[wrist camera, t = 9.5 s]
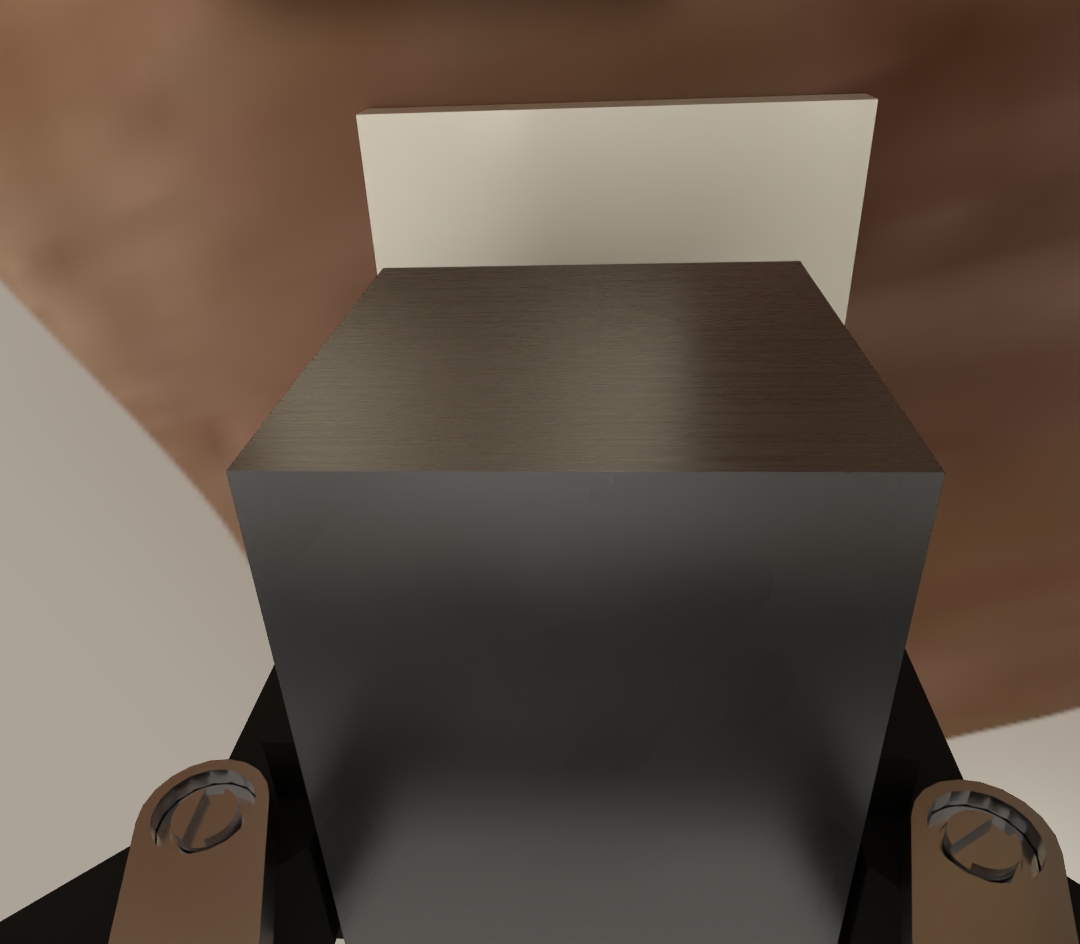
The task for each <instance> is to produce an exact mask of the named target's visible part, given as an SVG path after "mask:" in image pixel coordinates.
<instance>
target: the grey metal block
mask: <svg viewBox="0 0 1080 944" xmlns="http://www.w3.org/2000/svg"><path fill="white" fill-rule="evenodd" d="M226 473H227V477H228V481H229V485H230V489H231V493H232V497H233V501H234V505H235V509H236V513H237V517H238V521H239V525H240V529H241V533H242V537H243V541H244V545H245V549H246V552H247V556H248V560H249V564H250V568H251V572H252V576H253V580H254V584H255V588H256V592H257V596H258V600H259V604H260V608H261V612H262V616H263V620H264V624H265V627H266V631H267V636H268V640H269V644H270V647H271V651H272V655H273V659H274V663H275V667H276V671H277V675H278V679H279V683H280V687H281V691H282V695H283V699H284V703H285V707H286V711H287V715H288V719H289V723H290V727H291V731H292V735H293V739H294V743H295V747H296V751H297V755H298V759H299V763H300V767H301V771H302V775H303V778H304V782H305V786H306V790H307V794H308V798H309V802H310V806H311V810H312V814H313V818H314V822H315V826H316V830H317V834H318V838H319V842H320V846H321V850H322V854H323V858H324V862H325V866H326V870H327V874H328V878H329V882H330V886H331V890H332V893H333V897H334V901H335V905H336V909H337V913H338V917H339V921H340V925H341V929H342V933H343V937H344V941H345V944H837V943H838V939H839V934H840V930H841V926H842V921H843V917H844V912H845V908H846V904H847V899H848V895H849V891H850V886H851V882H852V877H853V873H854V869H855V864H856V860H857V855H858V851H859V847H860V842H861V838H862V834H863V829H864V825H865V820H866V816H867V812H868V807H869V803H870V799H871V794H872V790H873V785H874V781H875V777H876V772H877V768H878V764H879V759H880V755H881V750H882V746H883V742H884V737H885V733H886V728H887V724H888V720H889V715H890V711H891V707H892V702H893V698H894V693H895V689H896V685H897V680H898V676H899V672H900V667H901V663H902V658H903V654H904V650H905V645H906V641H907V636H908V632H909V628H910V623H911V619H912V615H913V610H914V606H915V601H916V597H917V593H918V588H919V584H920V580H921V575H922V571H923V566H924V562H925V558H926V553H927V549H928V545H929V540H930V536H931V531H932V527H933V523H934V518H935V514H936V509H937V505H938V501H939V496H940V492H941V488H942V483H943V479H944V474H945V472H944V470H943V469H942V467H941V466H940V464H939V463H938V461H937V460H936V459H935V457H934V456H933V454H932V453H931V451H930V450H929V448H928V447H927V445H926V444H925V442H924V441H923V440H922V438H921V437H920V435H919V434H918V432H917V431H916V429H915V428H914V426H913V425H912V423H911V422H910V421H909V419H908V418H907V416H906V415H905V413H904V412H903V410H902V409H901V407H900V406H899V404H898V403H897V402H896V400H895V399H894V397H893V396H892V394H891V393H890V391H889V390H888V388H887V387H886V386H885V384H884V383H883V381H882V380H881V378H880V377H879V375H878V374H877V372H876V371H875V369H874V368H873V367H872V365H871V364H870V362H869V361H868V359H867V358H866V356H865V355H864V353H863V352H862V350H861V349H860V348H859V346H858V345H857V343H856V342H855V340H854V339H853V337H852V336H851V334H850V333H849V331H848V330H847V329H846V327H845V326H844V324H843V323H842V321H841V320H840V318H839V317H838V315H837V314H836V313H835V311H834V310H833V308H832V307H831V305H830V304H829V302H828V301H827V299H826V298H825V296H824V295H823V294H822V292H821V291H820V289H819V288H818V286H817V285H816V283H815V282H814V280H813V279H812V277H811V276H810V275H809V273H808V272H807V270H806V269H805V267H804V266H803V264H802V263H801V261H766V262H707V263H647V264H588V265H529V266H470V267H411V268H383V269H382V270H381V271H380V273H379V274H378V275H377V276H376V278H375V279H374V280H373V282H372V283H371V284H370V286H369V287H368V288H367V289H366V291H365V292H364V293H363V295H362V296H361V297H360V298H359V300H358V301H357V302H356V304H355V305H354V306H353V308H352V309H351V310H350V311H349V313H348V314H347V315H346V317H345V318H344V319H343V320H342V322H341V323H340V324H339V326H338V327H337V328H336V330H335V331H334V332H333V333H332V335H331V336H330V337H329V339H328V340H327V341H326V342H325V344H324V345H323V346H322V348H321V349H320V350H319V352H318V353H317V354H316V355H315V357H314V358H313V359H312V361H311V362H310V363H309V364H308V366H307V367H306V368H305V370H304V371H303V372H302V374H301V375H300V376H299V377H298V379H297V380H296V381H295V383H294V384H293V385H292V386H291V388H290V389H289V390H288V392H287V393H286V394H285V396H284V397H283V398H282V399H281V401H280V402H279V403H278V405H277V406H276V407H275V408H274V410H273V411H272V412H271V414H270V415H269V416H268V417H267V419H266V420H265V421H264V423H263V424H262V425H261V427H260V428H259V429H258V430H257V432H256V433H255V434H254V436H253V437H252V438H251V439H250V441H249V442H248V443H247V445H246V446H245V447H244V449H243V450H242V451H241V452H240V454H239V455H238V456H237V458H236V459H235V460H234V461H233V463H232V464H231V465H230V467H229V468H228V469H227V471H226Z"/></svg>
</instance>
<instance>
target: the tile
mask: <svg viewBox="0 0 1080 944" xmlns="http://www.w3.org/2000/svg"><path fill="white" fill-rule="evenodd" d="M877 104H878V99H877V98H875V97H873V96H870V95H868V94H866V93H862V94H829V95H796V96H764V97H731V98H698V99H665V100H632V101H599V102H566V103H533V104H500V105H467V106H434V107H401V108H368V109H366V110H364V111H362V112H360V113H358V114H356V118H357V126H358V133H359V141H360V148H361V156H362V163H363V171H364V178H365V185H366V193H367V200H368V208H369V215H370V223H371V230H372V238H373V245H374V252H375V260H376V267H377V275H378V274H379V273H380V271H381V270H382V269H383V268H411V267H470V266H529V265H588V264H647V263H707V262H766V261H801V263H802V264H803V266H804V267H805V269H806V270H807V272H808V273H809V275H810V276H811V277H812V279H813V280H814V282H815V283H816V285H817V286H818V288H819V289H820V291H821V292H822V294H823V295H824V296H825V298H826V299H827V301H828V302H829V304H830V305H831V307H832V308H833V310H834V311H835V313H836V314H837V315H838V317H839V318H840V320H841V321H842V323H843V324H844V326H845V320H846V314H847V307H848V300H849V293H850V287H851V280H852V273H853V266H854V259H855V253H856V246H857V239H858V232H859V226H860V219H861V212H862V205H863V199H864V192H865V185H866V178H867V172H868V165H869V158H870V151H871V144H872V138H873V131H874V124H875V117H876V111H877Z"/></svg>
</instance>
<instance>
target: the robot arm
mask: <svg viewBox="0 0 1080 944" xmlns="http://www.w3.org/2000/svg"><path fill="white" fill-rule="evenodd" d="M336 938H340V939H344V937H343V933H342V929H341V925H340V921H339V917H338V913H337V909H336V905H335V901H334V897H333V893H332V890H331V886H330V882H329V878H328V874H327V870H326V866H325V862H324V858H323V854H322V850H321V846H320V842H319V838H318V834H317V830H316V826H315V822H314V818H313V814H312V810H311V806H310V802H309V798H308V794H307V790H306V786H305V782H304V778H303V775H302V771H301V767H300V763H299V759H298V755H297V751H296V747H295V743H294V739H293V735H292V731H291V727H290V723H289V719H288V715H287V711H286V707H285V703H284V699H283V695H282V691H281V687H280V683H279V679H278V675H277V671H276V667H275V665H274V667H273V669H272V671H271V673H270V675H269V677H268V679H267V681H266V683H265V685H264V687H263V689H262V692H261V694H260V696H259V698H258V700H257V702H256V704H255V706H254V708H253V710H252V712H251V715H250V716H249V718H248V721H247V723H246V725H245V727H244V729H243V731H242V733H241V735H240V737H239V739H238V741H237V743H236V745H235V747H234V749H233V752H232V754H231V756H230V758H229V759H226V760H213V761H207V762H204V763H201V764H198V765H194V766H191V767H189V768H187V769H185V770H183V771H181V772H179V773H178V774H176V775H174V776H172V777H171V778H169V779H168V780H167V781H166V782H164V783H163V784H162V785H161V786H160V787H158V788H157V789H156V790H155V791H154V792H153V793H152V795H151V796H150V797H149V798H148V800H147V801H146V802H145V804H144V805H143V806H142V809H141V811H140V814H139V816H138V818H137V821H136V824H135V828H134V833H133V837H132V841H131V846H129V847H128V848H126V849H125V850H122V851H121V852H119V853H117V854H115V855H114V856H112V857H110V858H109V859H107V860H105V861H104V862H102V863H100V864H98V865H97V866H95V867H93V868H92V869H90V870H88V871H87V872H85V873H83V874H81V875H80V876H78V877H76V878H74V879H73V880H71V881H69V882H68V883H66V884H64V885H62V886H61V887H59V888H57V889H56V890H54V891H52V892H50V893H49V894H47V895H45V896H44V897H42V898H40V899H38V900H37V901H35V902H33V903H32V904H30V905H29V906H26V907H25V908H23V909H21V910H20V911H18V912H16V913H14V914H13V915H11V916H9V917H8V918H6V919H4V920H3V921H1V922H0V944H335V941H336ZM837 944H1080V884H1078V883H1076V882H1075V881H1073V880H1072V879H1070V878H1069V877H1067V876H1066V870H1065V865H1064V859H1063V854H1062V851H1061V849H1060V846H1059V843H1058V841H1057V838H1056V835H1055V834H1054V833H1053V831H1052V830H1051V829H1050V827H1049V826H1048V825H1047V823H1046V822H1045V821H1044V819H1043V818H1042V817H1041V816H1040V815H1039V814H1038V813H1036V812H1035V811H1034V810H1033V809H1032V808H1031V807H1029V806H1028V805H1027V804H1026V803H1025V802H1023V801H1022V800H1020V799H1018V798H1016V797H1015V796H1013V795H1011V794H1009V793H1007V792H1006V791H1004V790H1002V789H999V788H996V787H993V786H990V785H987V784H984V783H981V782H976V781H967V780H963V777H962V775H961V773H960V771H959V769H958V766H957V764H956V762H955V760H954V757H953V755H952V753H951V751H950V748H949V746H948V744H947V742H946V739H945V737H944V735H943V733H942V730H941V728H940V726H939V724H938V721H937V719H936V717H935V715H934V712H933V710H932V708H931V706H930V703H929V701H928V699H927V697H926V694H925V692H924V690H923V688H922V685H921V683H920V681H919V679H918V676H917V674H916V672H915V670H914V667H913V665H912V663H911V661H910V658H909V656H908V654H907V652H906V649H905V650H904V654H903V658H902V663H901V667H900V672H899V676H898V680H897V685H896V689H895V693H894V698H893V702H892V707H891V711H890V715H889V720H888V724H887V728H886V733H885V737H884V742H883V746H882V750H881V755H880V759H879V764H878V768H877V772H876V777H875V781H874V785H873V790H872V794H871V799H870V803H869V807H868V812H867V816H866V820H865V825H864V829H863V834H862V838H861V842H860V847H859V851H858V855H857V860H856V864H855V869H854V873H853V877H852V882H851V886H850V891H849V895H848V899H847V904H846V908H845V912H844V917H843V921H842V926H841V930H840V934H839V939H838V943H837Z"/></svg>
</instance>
